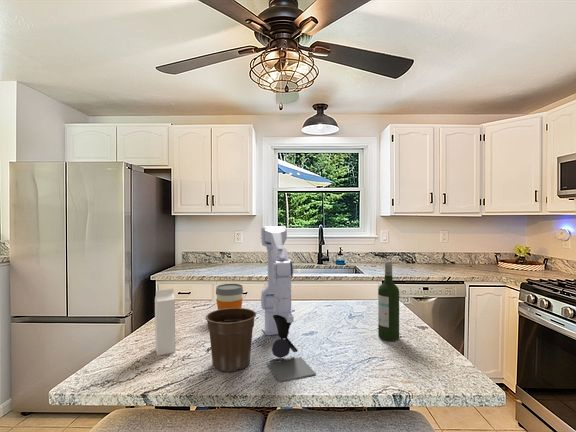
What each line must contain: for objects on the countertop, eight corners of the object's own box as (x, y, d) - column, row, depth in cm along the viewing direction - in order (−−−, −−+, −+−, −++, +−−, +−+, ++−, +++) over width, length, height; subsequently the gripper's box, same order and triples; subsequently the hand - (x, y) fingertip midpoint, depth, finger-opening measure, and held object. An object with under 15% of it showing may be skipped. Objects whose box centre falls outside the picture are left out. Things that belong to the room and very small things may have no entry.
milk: (175, 352, 115) (175, 290, 115) (157, 356, 112) (156, 292, 112) (172, 346, 120) (172, 287, 120) (154, 349, 117) (154, 288, 117)
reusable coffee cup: (248, 317, 153) (248, 285, 153) (230, 324, 143) (230, 290, 142) (229, 312, 160) (228, 282, 160) (210, 320, 149) (209, 287, 149)
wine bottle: (402, 337, 127) (402, 261, 127) (393, 343, 121) (393, 263, 121) (384, 332, 133) (383, 259, 132) (374, 338, 127) (374, 261, 126)
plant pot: (213, 352, 115) (213, 307, 115) (259, 352, 114) (258, 307, 114) (199, 375, 98) (199, 322, 98) (252, 376, 98) (252, 323, 98)
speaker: (288, 335, 114) (292, 332, 105) (294, 352, 112) (299, 350, 103) (268, 343, 112) (270, 341, 103) (274, 360, 110) (277, 360, 101)
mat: (300, 358, 110) (300, 357, 110) (316, 374, 98) (316, 373, 98) (266, 364, 105) (266, 363, 105) (278, 382, 94) (278, 381, 94)
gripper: (302, 301, 103) (302, 343, 103) (286, 291, 116) (286, 328, 116) (281, 303, 100) (281, 347, 100) (267, 292, 114) (267, 331, 114)
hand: (283, 337), depth 108 cm, fingers closed
